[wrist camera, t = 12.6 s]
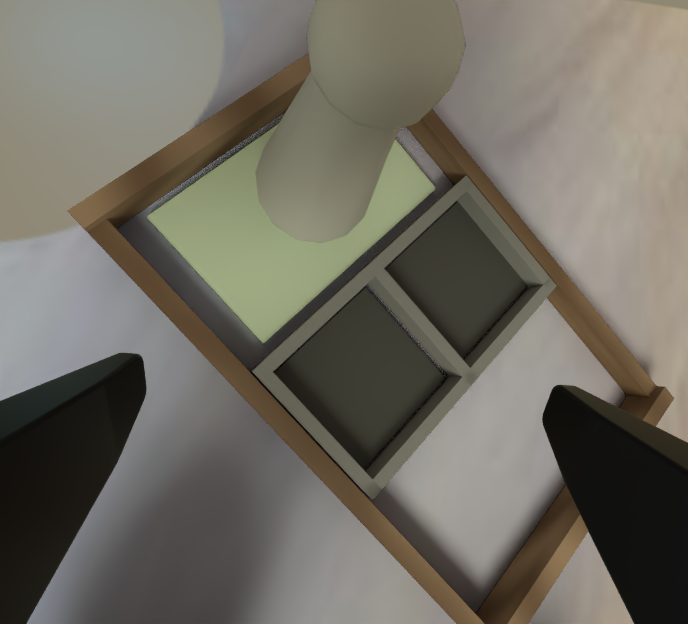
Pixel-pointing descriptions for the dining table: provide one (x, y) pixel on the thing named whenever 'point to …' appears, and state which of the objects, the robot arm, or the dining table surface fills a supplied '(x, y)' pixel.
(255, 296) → the pad
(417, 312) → the trap pits
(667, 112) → the dining table surface
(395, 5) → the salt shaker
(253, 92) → the wooden frame
